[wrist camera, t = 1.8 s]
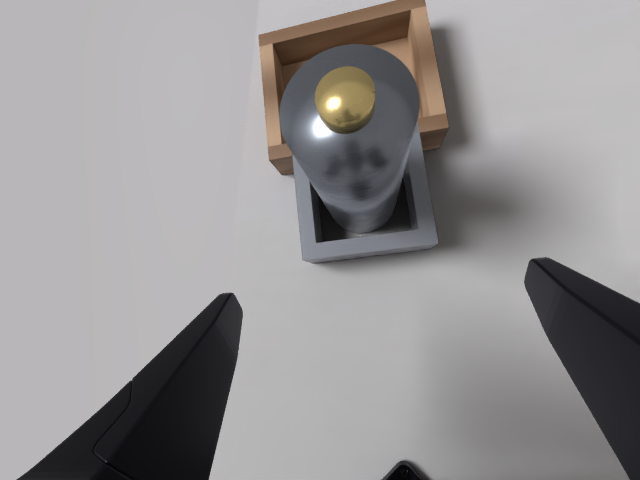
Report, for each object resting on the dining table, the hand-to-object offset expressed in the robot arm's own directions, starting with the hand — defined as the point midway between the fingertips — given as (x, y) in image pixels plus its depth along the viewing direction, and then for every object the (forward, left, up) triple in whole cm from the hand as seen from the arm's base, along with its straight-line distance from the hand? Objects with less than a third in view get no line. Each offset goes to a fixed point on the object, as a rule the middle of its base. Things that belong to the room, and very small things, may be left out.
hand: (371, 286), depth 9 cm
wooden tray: (+9, +11, -13) cm, 19 cm away
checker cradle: (+4, +5, -13) cm, 14 cm away
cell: (+4, +5, -13) cm, 14 cm away
